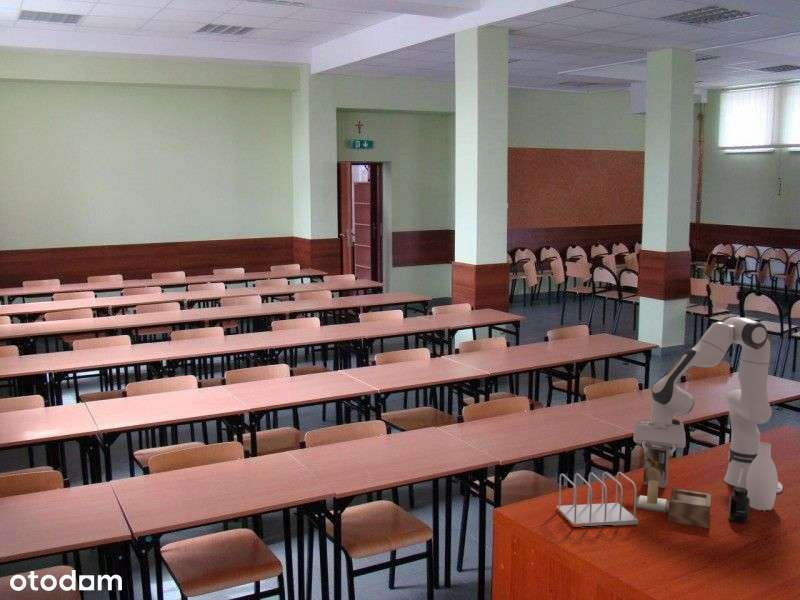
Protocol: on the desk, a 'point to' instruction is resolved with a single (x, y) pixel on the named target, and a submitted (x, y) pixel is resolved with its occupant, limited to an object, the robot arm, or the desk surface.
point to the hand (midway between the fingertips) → (658, 453)
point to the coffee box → (656, 465)
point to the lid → (652, 498)
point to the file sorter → (598, 506)
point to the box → (689, 508)
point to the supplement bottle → (739, 505)
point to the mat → (653, 509)
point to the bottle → (762, 479)
